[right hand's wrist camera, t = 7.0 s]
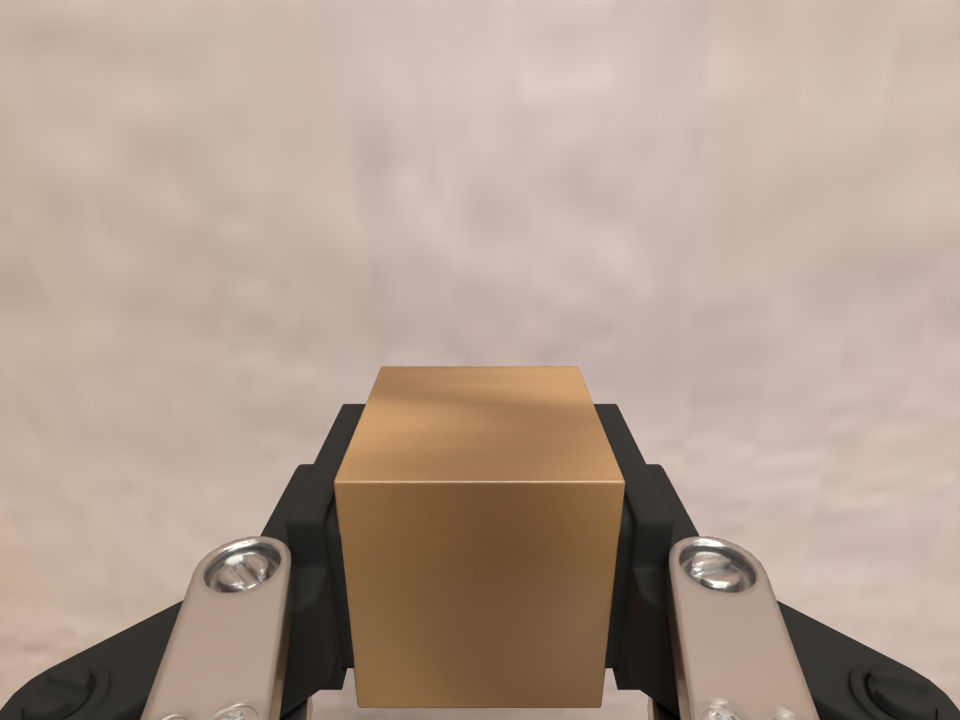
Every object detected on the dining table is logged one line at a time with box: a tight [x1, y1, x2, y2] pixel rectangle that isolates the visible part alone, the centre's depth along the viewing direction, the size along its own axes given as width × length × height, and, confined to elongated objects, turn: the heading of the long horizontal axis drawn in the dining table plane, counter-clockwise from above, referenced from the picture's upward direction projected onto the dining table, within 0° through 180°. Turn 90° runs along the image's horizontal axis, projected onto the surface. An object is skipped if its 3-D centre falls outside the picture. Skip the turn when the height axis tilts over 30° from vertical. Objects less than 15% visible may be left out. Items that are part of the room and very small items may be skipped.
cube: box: [334, 367, 625, 708], centre depth 11 cm, size 4×4×4 cm
